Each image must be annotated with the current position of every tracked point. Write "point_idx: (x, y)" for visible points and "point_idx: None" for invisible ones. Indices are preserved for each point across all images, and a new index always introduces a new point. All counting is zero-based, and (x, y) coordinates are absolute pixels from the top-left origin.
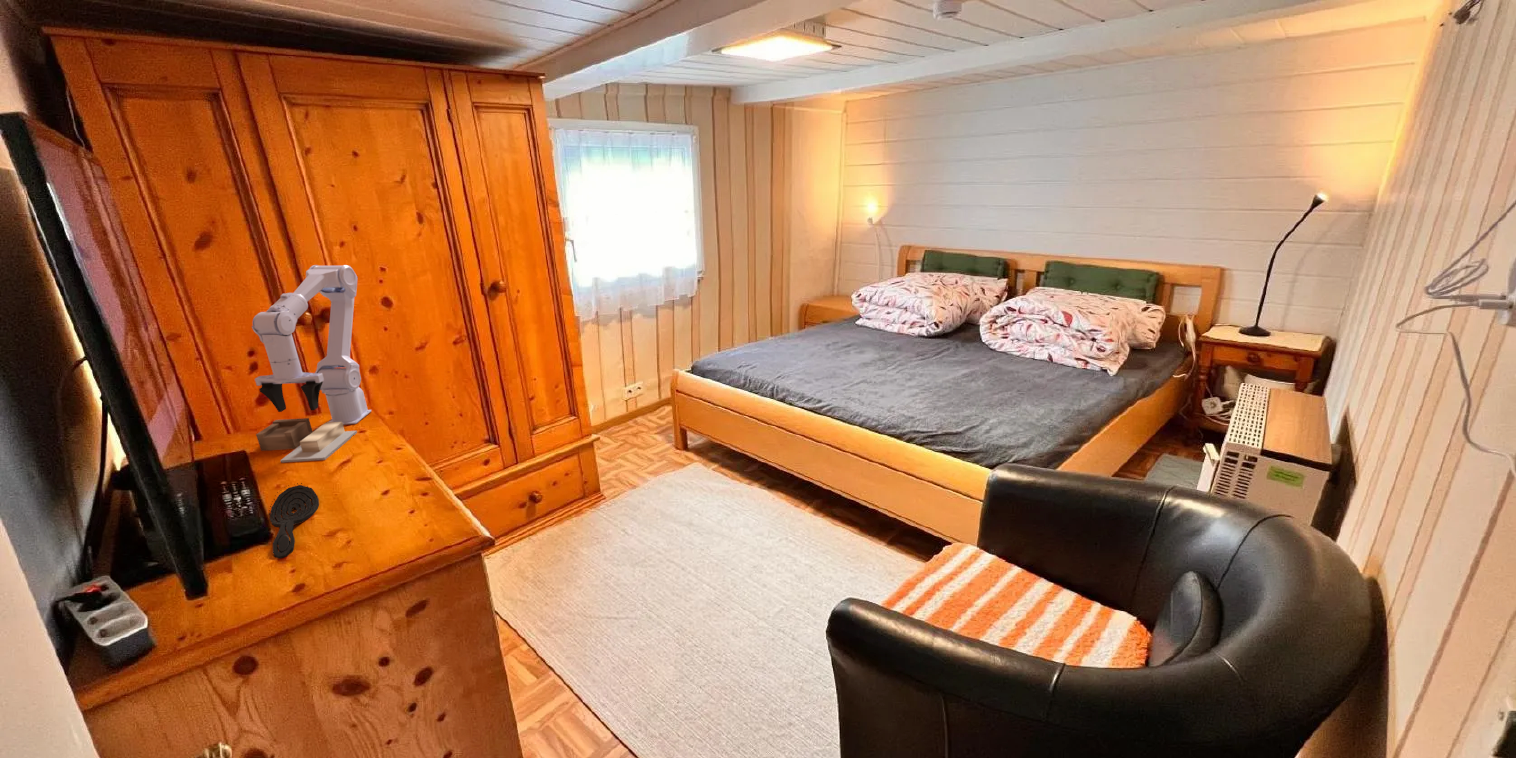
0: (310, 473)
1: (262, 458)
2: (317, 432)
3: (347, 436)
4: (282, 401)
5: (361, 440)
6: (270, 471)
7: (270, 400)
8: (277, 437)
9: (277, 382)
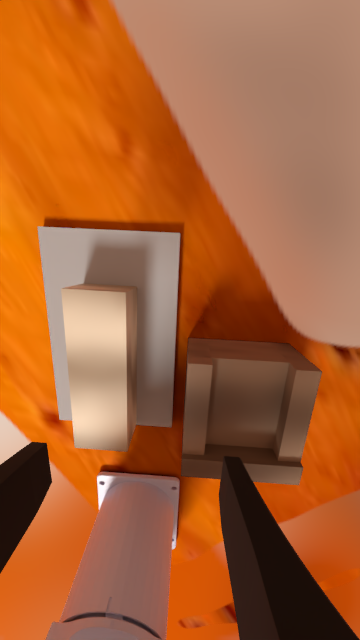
0: (26, 111)
1: (258, 282)
2: (106, 370)
3: (62, 383)
4: (231, 558)
5: (17, 358)
6: (180, 161)
7: (302, 565)
8: (238, 358)
9: None
